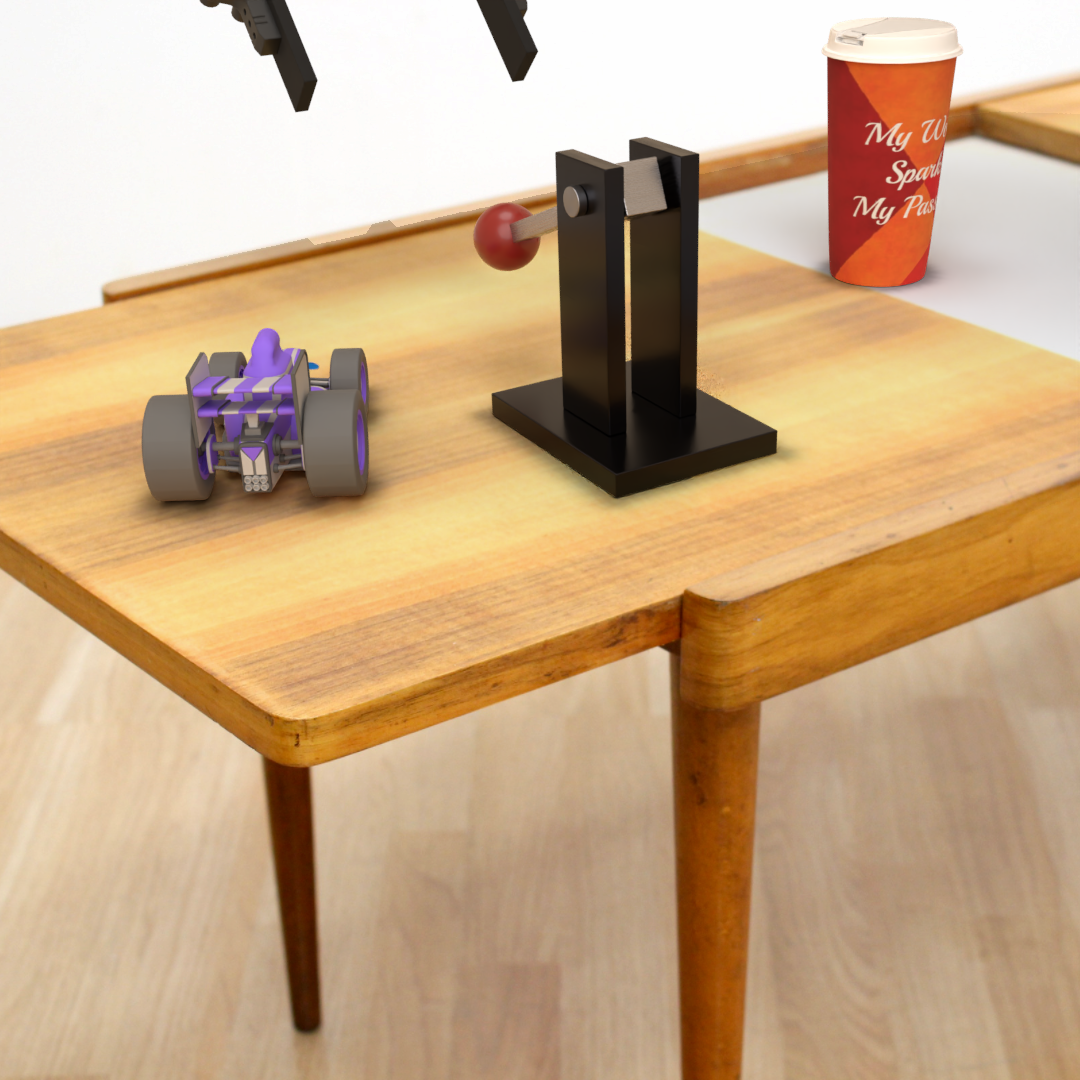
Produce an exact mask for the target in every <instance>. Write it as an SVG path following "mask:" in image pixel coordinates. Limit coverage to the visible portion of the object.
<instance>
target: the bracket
mask: <svg viewBox="0 0 1080 1080" xmlns="http://www.w3.org/2000/svg"><path fill="white" fill-rule="evenodd" d="M554 156H555V157H554V158H555V188H556V189H555V191H556V192H555V193H556V206H557V227H558V230H557V253H558V255H557V256H558V259H557V260H558V286H559V287H558V289H559V291H558V292H559V320H560V347H561V348H560V353H561V355H560V356H561V376H559V377H554V378H549V379H546V380H542V381H538V382H537V381H536V382H533V383H529V384H525V385H521V386H516V387H512V388H507V389H504V390H500V391H494V392H491V394H490V395H491V410H492V411H491V413H492V415H493V416H494V417H495V418H497V419H498V420H499V421H502V423H504V424H506V425H507V426H509V427H510V428H512V429H513V430H515V431H516V432H518V433H519V434H521V435H522V436H524V437H525V438H527V439H528V440H529V441H531V442H532V443H534V444H535V445H537V446H539V447H540V448H541V449H543V450H544V451H546V452H547V453H548V454H551V456H552V457H555V458H556V459H558V460H560V461H561V462H562V463H564V464H565V465H567V466H568V467H569V468H571V469H573V470H574V471H575V472H577V473H578V474H580V475H582V476H583V477H584V478H586V479H588V480H589V481H590V482H592V483H593V484H595V485H596V486H598V487H599V488H601V489H602V490H604V492H606V493H608V494H610V495H611V496H613V497H614V498H616V499H618V498H622V497H625V496H629V495H632V494H635V493H640V492H643V491H647V490H650V489H653V488H657V487H661V486H664V485H668V484H671V483H675V482H679V481H682V480H685V479H689V478H693V477H697V476H700V475H703V474H708V473H711V472H714V471H718V470H723V469H724V468H728V467H733V466H736V465H739V464H743V463H747V462H750V461H753V460H757V459H761V458H764V457H769V456H772V455H775V454H777V453H778V430H777V429H775V428H773V427H772V426H769V425H768V424H766V423H765V422H762V421H761V420H759V419H756V418H754V417H752V416H751V415H749V414H747V413H746V412H743V411H741V410H739V409H738V408H736V407H735V406H732V405H730V404H728V403H726V402H724V401H722V400H721V399H719V398H716V397H715V396H713V395H711V394H709V393H707V392H705V391H703V390H701V389H700V388H698V325H699V324H698V323H699V322H698V321H699V320H698V319H699V318H698V317H699V316H698V315H699V312H698V311H699V235H700V233H699V230H700V229H699V228H700V223H699V222H700V153H698V152H695V151H692V150H690V149H685V148H683V147H679V146H676V145H674V144H670V143H668V142H664V141H660V140H658V139H654V138H652V137H648V136H642V137H637V138H631V139H628V161H632V160H638V159H644V158H650V157H657V160H658V165H659V170H660V175H661V180H662V185H663V189H664V194H665V199H666V204H667V209H666V210H663V211H660V212H657V213H654V214H651V215H648V216H645V217H642V218H639V219H636V220H630V221H629V270H630V271H629V276H630V277H629V279H630V283H629V284H630V285H629V286H630V288H629V289H630V291H629V294H630V359H629V360H627V342H626V337H627V336H626V335H627V333H626V327H627V326H626V257H625V256H626V253H625V252H626V251H625V250H626V249H625V248H626V247H625V245H626V244H625V243H626V240H625V237H626V236H625V222H624V167H622V166H619V165H617V164H616V163H614V162H611V161H608V160H605V159H602V158H600V157H597V156H594V155H591V154H589V153H585V152H582V151H580V150H577V149H574V148H570V149H565V150H564V149H563V150H558V151H555V153H554Z"/></svg>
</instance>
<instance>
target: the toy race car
mask: <svg viewBox="0 0 1080 1080" xmlns="http://www.w3.org/2000/svg"><path fill="white" fill-rule="evenodd" d="M250 354H251V356H250V358H249V360H248V361H247V358H246V355H245V354H244V352H242V351H215V352H212V353H211V355H210V357H209V359H208V356H207V354H206V352H205V351H200V352H199V353H198V355H197V356H196V358H195V360H194V362H193V363H192V365H191V367H190V369H188V372H187V373H186V375H185V377H184V380H185V386H186V392H187V393H181V394H156V395H155V394H154V395H152V396H151V397H150V398H149V399H148V401H147V403H146V405H145V409H144V412H143V419H142V426H141V457H142V465H143V472H144V476H145V481H146V484H147V487H148V490H149V492H150V494H151V496H152V498H154V499H155V500H156V501H157V502H171V501H172V502H177V501H179V502H181V501H182V502H183V501H204V500H207V499H209V498H210V497H211V495H212V492H213V489H214V486H215V482H216V475H217V470H219V471H227V472H229V473H238V474H239V475H240V477H241V483H242V490H243V493H244V494H259V493H260V494H262V493H263V494H264V493H267V494H268V493H272V491H273V490H274V489H275V487H276V485H277V483H278V482H279V480H280V479H281V477H282V476H283V474H284V472H293V471H295V472H298V471H299V472H300V471H302V472H303V471H304V472H305V477H306V481H307V485H308V488H309V490H310V493H311V494H312V496H313V497H320V498H321V497H351V496H352V497H353V496H357V497H358V496H363V495H364V493H365V491H366V488H367V485H368V478H369V464H370V443H369V440H370V439H369V424H368V412H369V404H370V383H369V382H370V381H369V369H368V361H367V357H366V354H365V351H364V349H363V348H362V347H345V348H343V347H341V348H339V347H338V348H334V349H332V352H331V356H330V361H329V377H328V378H327V377H311V373H310V372H311V371H316V370H319V369H320V365H319V364H318V363H317V362H315V361H309V355H308V352H307V350H306V349H305V348H298V347H287V348H283V349H282V347H281V337H280V334H279V333H278V332H277V330H275V329H273V328H271V327H265V328H262V329H260V330H259V331H258V333H257V335H256V337H255V339H254V340H253V343H252V346H251V350H250ZM215 424H216V425H219V426H221V425H222V426H224V431H223V434H222V436H221V441H217V433H216V432H217V431H216V425H215ZM220 452H223V455H221V453H220ZM219 453H220V454H219ZM221 460H223V461H225V465H219V463H220V461H221Z"/></svg>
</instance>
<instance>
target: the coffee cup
mask: <svg viewBox="0 0 1080 1080" xmlns="http://www.w3.org/2000/svg"><path fill="white" fill-rule="evenodd" d="M827 39H828V40H827V43H826V44H824V45H823V47H822V48H821V54H822V55H823V56H825V57H826V68H827V69H826V81H827V83H826V86H827V88H826V89H827V90H826V91H827V92H826V93H827V95H826V96H827V103H826V104H827V107H826V108H827V218H828V219H827V220H828V222H827V224H828V228H827V229H828V230H827V231H828V262H829V271H830V272H829V273H830V275H831V276H832V277H833V278H835V279H836V280H838V281H841V282H844V283H846V284H851V285H855V286H862V287H876V288H885V287H886V288H887V287H889V288H890V287H899V286H906V285H910V284H913V283H916V282H919V281H920V280H922V279H923V278H924V277H925V275H926V272H927V271H926V270H927V266H928V262H929V261H928V260H929V255H930V248H931V243H932V234H933V230H934V229H933V228H934V223H935V222H934V221H935V217H936V208H937V201H938V194H939V186H940V180H941V174H942V166H943V159H944V152H945V146H946V145H945V144H946V137H947V130H948V124H949V115H950V111H951V110H950V109H951V101H952V96H953V95H952V94H953V88H954V87H953V86H954V81H955V72H956V65H957V59H958V57H960V56H961V55H963V54H964V48H963V46H962V45H961V44H960V43H959V37H958V30H957V28H956V26H955V25H954V24H953V23H951V22H947V21H945V20H939V19H931V18H921V17H901V16H900V17H899V16H897V17H894V16H893V17H892V16H891V17H890V16H888V17H884V16H883V17H866V18H857V19H850V20H845V21H840V22H836V23H835V24H833V25H832V26H831V28H830V29H829V34H828V38H827Z"/></svg>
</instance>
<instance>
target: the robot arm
mask: <svg viewBox="0 0 1080 1080" xmlns="http://www.w3.org/2000/svg"><path fill="white" fill-rule="evenodd" d="M199 2H200V4H202V5H203V7H206V8H216V7H218V6H219V5H220V4H222V5H228V6H230V7H231V11H230V13H231V17H232V18H233V20H235V21H237V22H239V23H242V24H244V26H245V28H246V31H247V33H248V37H249V39H250V41H251V44H252V47H253V49H254V50H255V52H256V53H257V54H258V55H259V56H260V57H266V56H272V57H273V61H274V62H275V65H276V68H277V70H278V73H279V75H280V77H281V80H282V82H283V86H284V87H285V90H286V93H287V95H288V97H289V100H290V103H291V105H292V108H293V110H294V112H295V113H302V112H308V111H309V109H310V106H311V103H312V100H313V96H314V93H315V90H316V88H317V85H318V81H319V80H318V78H317V75H316V72H315V70H314V68H313V65H312V63H311V60H310V58H309V55H308V53H307V51H306V48H305V46H304V43H303V40H302V38H301V36H300V33H299V30H298V28H297V26H296V23H295V21H294V19H293V16H292V14H291V11H290V8H289V5H288V4H287V1H286V0H199ZM476 3H477V5H478V7H479V10H480V12H481V14H482V17H483V19H484V21H485V24H486V25H487V27H488V30H489V32H490V35H491V37H492V39H493V41H494V44H495V46H496V48H497V51H498V53H499V55H500V57H501V59H502V62H503V64H504V66H505V69H506V71H507V73H508V75H509V77H510V80H511V82H512V83H516V82H523V81H525V78H526V77H527V76H528V72H529V70H530V69H531V68H532V67H531V66H532V65H533V63H534V61H535V59H536V57H537V54H538V53H539V50H538V47H537V46H536V43H535V41H534V38H533V36H532V34H531V32H530V29H529V27H528V25H527V22H526V21H525V16H526V13H527V12H528V9H529V8H528V7H529V6H528V0H476Z"/></svg>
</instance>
